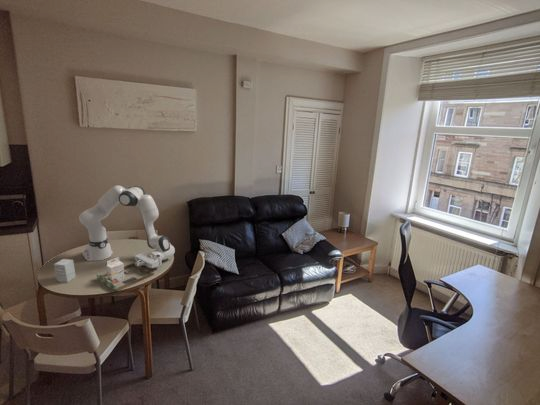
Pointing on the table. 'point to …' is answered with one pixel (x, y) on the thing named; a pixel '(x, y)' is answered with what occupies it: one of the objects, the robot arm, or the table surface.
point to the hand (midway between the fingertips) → (136, 264)
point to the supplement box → (65, 270)
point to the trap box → (126, 282)
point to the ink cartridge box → (115, 270)
